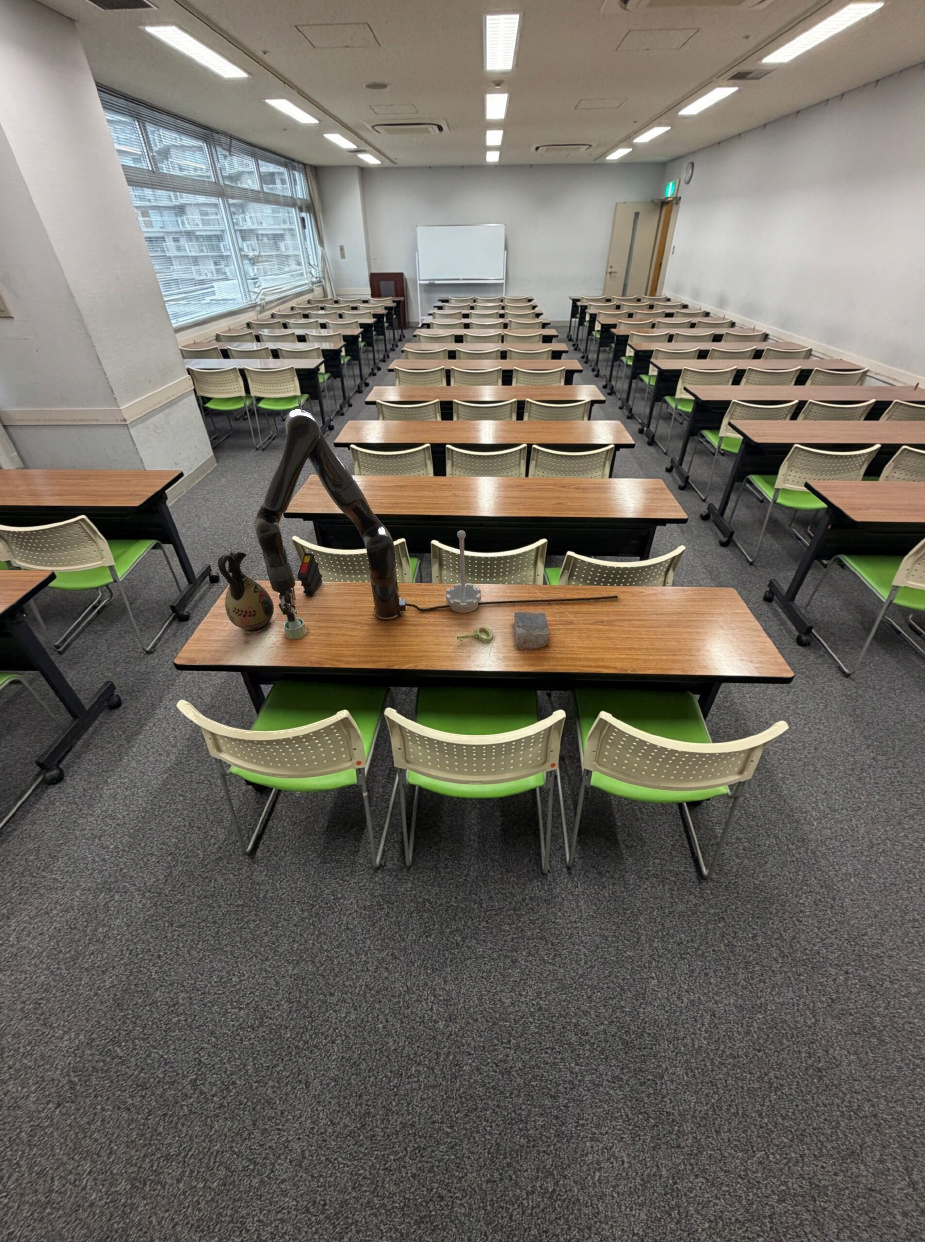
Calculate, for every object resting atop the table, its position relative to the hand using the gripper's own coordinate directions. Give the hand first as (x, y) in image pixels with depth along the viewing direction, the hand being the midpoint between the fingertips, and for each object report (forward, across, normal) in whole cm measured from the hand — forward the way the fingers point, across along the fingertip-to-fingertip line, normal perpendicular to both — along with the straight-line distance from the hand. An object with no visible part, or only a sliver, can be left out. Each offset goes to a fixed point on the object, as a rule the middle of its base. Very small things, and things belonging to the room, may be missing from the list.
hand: (292, 617), depth 175 cm
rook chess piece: (+5, 0, 0) cm, 5 cm away
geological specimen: (+8, -12, -80) cm, 82 cm away
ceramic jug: (+7, +6, +16) cm, 18 cm away
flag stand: (+7, +10, -60) cm, 61 cm away
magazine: (+7, +28, -2) cm, 29 cm away
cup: (+7, 0, 0) cm, 7 cm away
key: (+7, -11, -62) cm, 63 cm away
